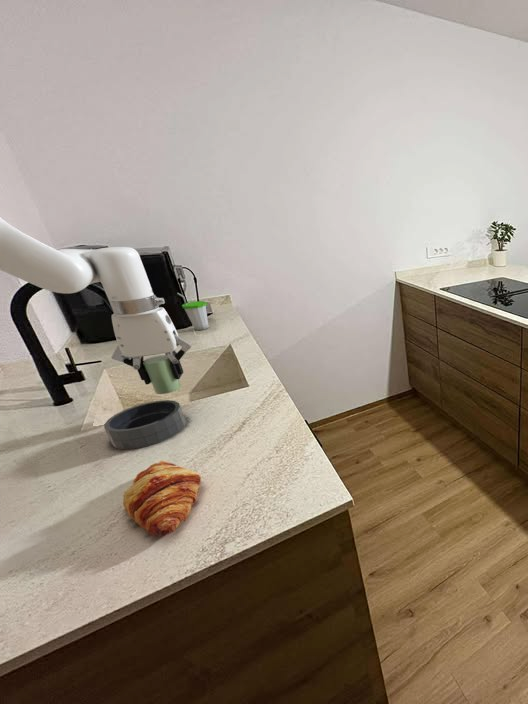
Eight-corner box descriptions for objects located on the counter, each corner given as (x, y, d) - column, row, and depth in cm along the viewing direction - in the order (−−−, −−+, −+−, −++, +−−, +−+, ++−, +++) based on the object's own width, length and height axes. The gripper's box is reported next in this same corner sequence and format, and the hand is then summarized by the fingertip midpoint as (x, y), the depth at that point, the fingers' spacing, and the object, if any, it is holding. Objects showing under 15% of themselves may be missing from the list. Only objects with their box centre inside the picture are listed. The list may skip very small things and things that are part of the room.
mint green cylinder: (152, 396, 88) (139, 365, 84) (158, 387, 92) (146, 357, 89) (178, 391, 90) (166, 360, 86) (183, 382, 94) (172, 353, 90)
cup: (218, 326, 153) (207, 290, 147) (201, 332, 146) (189, 294, 140) (202, 325, 155) (191, 289, 149) (185, 331, 148) (172, 293, 142)
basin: (103, 458, 75) (93, 437, 73) (126, 426, 86) (117, 407, 84) (179, 441, 80) (171, 422, 78) (192, 413, 91) (185, 395, 89)
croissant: (151, 493, 71) (109, 472, 66) (199, 453, 74) (163, 430, 69) (158, 567, 56) (105, 547, 51) (218, 512, 60) (174, 488, 55)
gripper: (185, 297, 89) (209, 366, 96) (92, 306, 82) (125, 380, 89) (178, 304, 82) (203, 378, 90) (76, 315, 76) (112, 394, 83)
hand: (164, 378), depth 90 cm, fingers closed on mint green cylinder, 5 cm apart
